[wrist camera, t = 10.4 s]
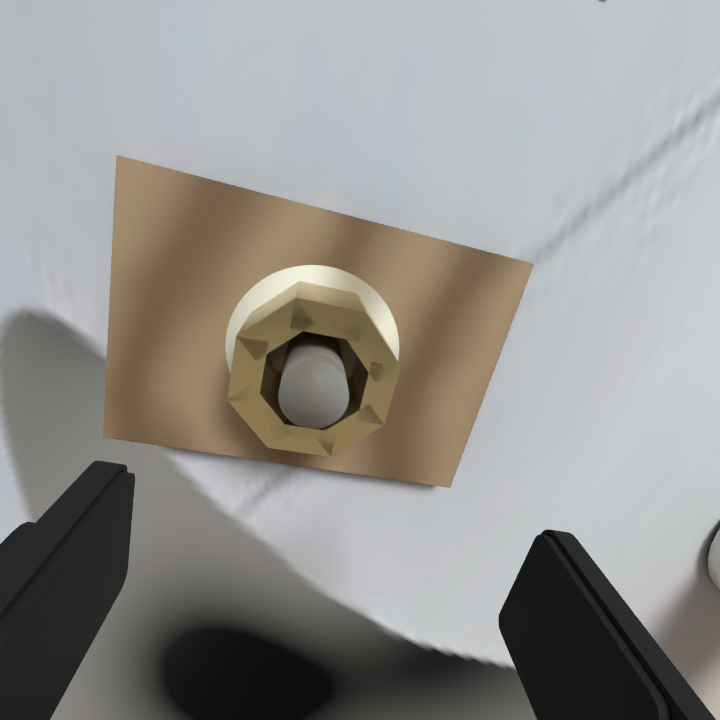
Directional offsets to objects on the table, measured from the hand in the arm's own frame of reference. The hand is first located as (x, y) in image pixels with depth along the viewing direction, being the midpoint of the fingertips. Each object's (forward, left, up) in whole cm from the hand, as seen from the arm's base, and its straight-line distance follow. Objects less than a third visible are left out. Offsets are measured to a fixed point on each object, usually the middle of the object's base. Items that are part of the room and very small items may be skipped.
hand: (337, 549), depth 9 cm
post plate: (+1, 0, -15) cm, 15 cm away
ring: (+1, 0, -13) cm, 13 cm away
